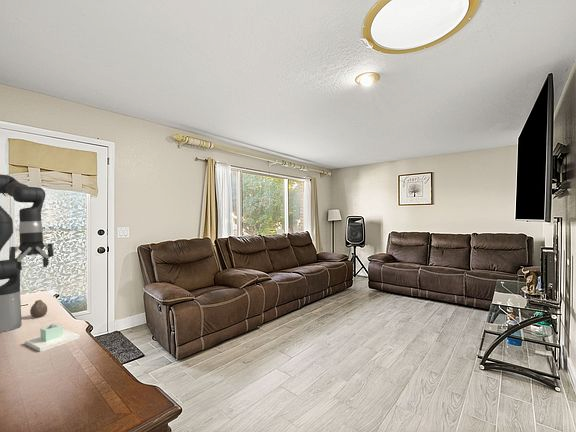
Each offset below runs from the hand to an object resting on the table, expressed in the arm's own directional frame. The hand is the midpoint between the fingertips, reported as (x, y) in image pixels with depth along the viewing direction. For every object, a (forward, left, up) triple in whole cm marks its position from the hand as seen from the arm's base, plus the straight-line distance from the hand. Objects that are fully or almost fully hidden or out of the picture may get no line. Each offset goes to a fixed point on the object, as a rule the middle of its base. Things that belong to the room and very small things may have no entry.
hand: (32, 268), depth 121 cm
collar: (+13, +1, -29) cm, 31 cm away
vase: (-36, +12, -30) cm, 49 cm away
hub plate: (+13, +2, -30) cm, 33 cm away
